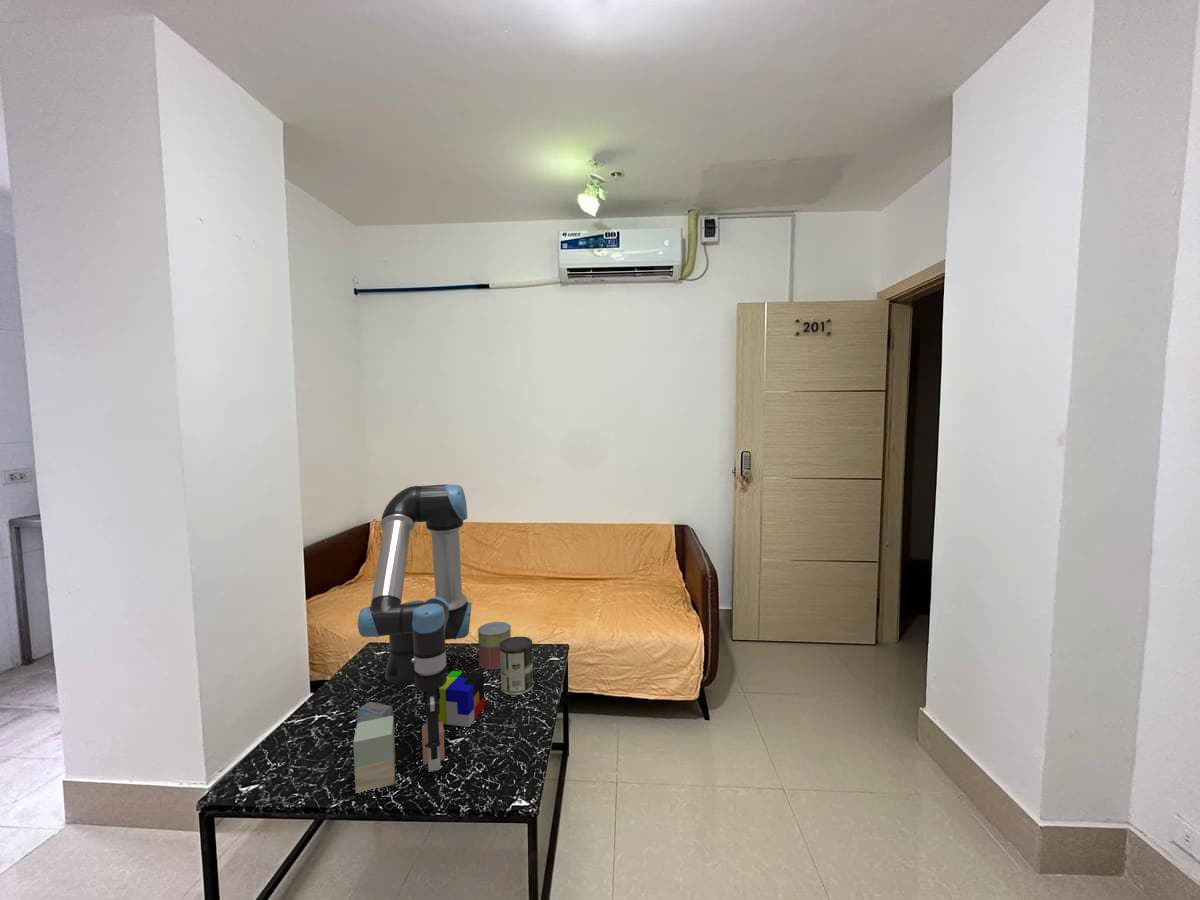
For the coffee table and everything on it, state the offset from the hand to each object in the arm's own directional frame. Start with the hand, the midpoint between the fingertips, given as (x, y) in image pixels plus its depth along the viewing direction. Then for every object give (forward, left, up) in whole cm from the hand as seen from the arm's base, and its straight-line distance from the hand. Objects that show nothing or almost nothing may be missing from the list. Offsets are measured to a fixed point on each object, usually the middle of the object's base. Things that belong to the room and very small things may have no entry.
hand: (433, 755), depth 123 cm
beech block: (+3, -13, 0) cm, 13 cm away
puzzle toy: (-16, +8, -1) cm, 18 cm away
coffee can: (-25, +26, 0) cm, 36 cm away
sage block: (+3, -13, +6) cm, 14 cm away
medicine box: (-13, -14, 0) cm, 19 cm away
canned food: (-45, +22, 0) cm, 50 cm away
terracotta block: (0, 0, 0) cm, 0 cm away
